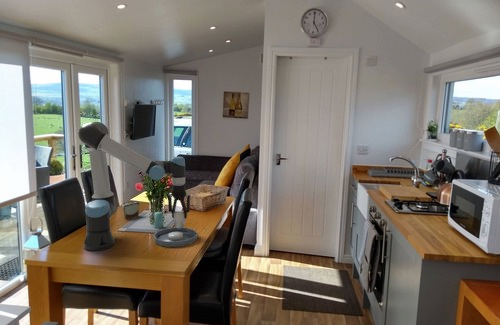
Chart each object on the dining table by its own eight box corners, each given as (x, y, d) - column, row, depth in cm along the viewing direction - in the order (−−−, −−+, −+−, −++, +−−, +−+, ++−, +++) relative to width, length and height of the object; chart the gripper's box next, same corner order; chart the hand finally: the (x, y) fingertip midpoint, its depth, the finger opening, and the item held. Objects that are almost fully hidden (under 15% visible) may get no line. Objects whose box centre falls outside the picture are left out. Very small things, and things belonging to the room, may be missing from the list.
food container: (135, 213, 258) (134, 199, 256) (140, 215, 254) (139, 201, 252) (118, 218, 248) (118, 203, 247) (124, 220, 244) (123, 204, 243)
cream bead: (182, 228, 216) (182, 213, 215) (174, 228, 217) (173, 212, 215) (185, 225, 221) (184, 210, 220) (176, 225, 222) (176, 210, 220)
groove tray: (190, 248, 200) (190, 243, 199) (147, 245, 202) (147, 240, 202) (201, 232, 223) (201, 228, 222) (162, 230, 225) (162, 226, 225)
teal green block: (161, 228, 229) (161, 214, 228) (153, 228, 229) (153, 214, 228) (164, 226, 234) (163, 212, 232) (156, 225, 234) (156, 211, 233)
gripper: (195, 183, 218) (196, 222, 221) (165, 182, 219) (166, 220, 223) (192, 186, 210) (192, 226, 214) (161, 185, 212) (162, 225, 216)
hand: (179, 223), depth 219 cm, fingers closed on cream bead, 4 cm apart
